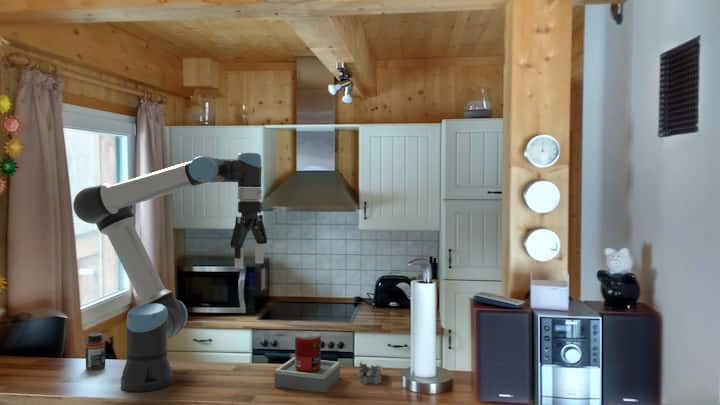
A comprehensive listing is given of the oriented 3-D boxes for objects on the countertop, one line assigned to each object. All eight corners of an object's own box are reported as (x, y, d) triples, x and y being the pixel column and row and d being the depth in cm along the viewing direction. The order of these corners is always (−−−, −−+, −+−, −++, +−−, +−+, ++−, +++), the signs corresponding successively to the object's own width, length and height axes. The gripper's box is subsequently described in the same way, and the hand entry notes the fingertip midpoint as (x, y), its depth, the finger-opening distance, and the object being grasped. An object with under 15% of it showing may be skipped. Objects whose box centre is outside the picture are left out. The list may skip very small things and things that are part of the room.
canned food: (316, 374, 172) (317, 338, 171) (291, 372, 173) (291, 336, 173) (323, 366, 179) (323, 331, 179) (299, 364, 181) (299, 330, 180)
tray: (274, 386, 172) (274, 370, 172) (293, 372, 185) (293, 357, 185) (323, 392, 167) (324, 375, 167) (339, 377, 181) (339, 362, 180)
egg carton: (359, 373, 186) (359, 361, 186) (382, 374, 185) (382, 361, 185) (357, 384, 175) (357, 371, 175) (381, 385, 175) (381, 371, 175)
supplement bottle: (87, 366, 191) (87, 332, 190) (107, 364, 192) (106, 331, 192) (83, 371, 185) (83, 337, 185) (103, 370, 186) (103, 336, 186)
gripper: (240, 201, 171) (240, 271, 172) (277, 200, 195) (276, 261, 196) (218, 201, 174) (218, 270, 174) (257, 199, 197) (257, 260, 198)
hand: (249, 266), depth 185 cm, fingers open, 13 cm apart
